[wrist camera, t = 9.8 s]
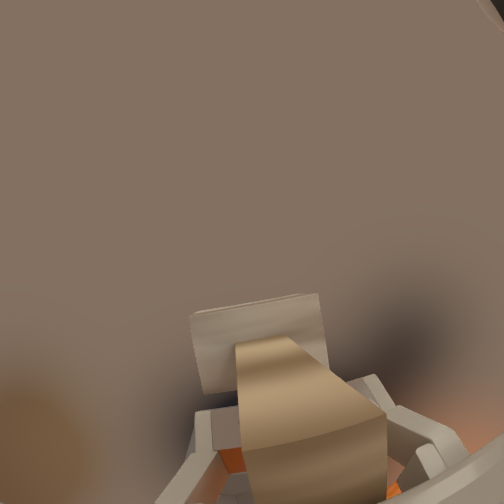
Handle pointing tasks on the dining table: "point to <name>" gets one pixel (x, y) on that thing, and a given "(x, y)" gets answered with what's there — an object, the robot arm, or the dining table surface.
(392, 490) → the dining table surface
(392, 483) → the dining table surface
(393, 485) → the dining table surface
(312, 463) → the mallet
